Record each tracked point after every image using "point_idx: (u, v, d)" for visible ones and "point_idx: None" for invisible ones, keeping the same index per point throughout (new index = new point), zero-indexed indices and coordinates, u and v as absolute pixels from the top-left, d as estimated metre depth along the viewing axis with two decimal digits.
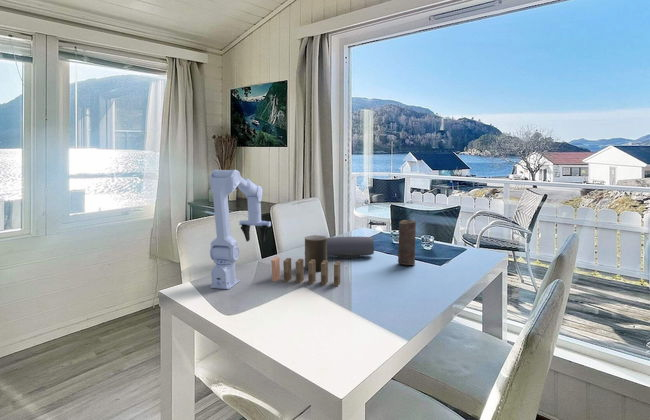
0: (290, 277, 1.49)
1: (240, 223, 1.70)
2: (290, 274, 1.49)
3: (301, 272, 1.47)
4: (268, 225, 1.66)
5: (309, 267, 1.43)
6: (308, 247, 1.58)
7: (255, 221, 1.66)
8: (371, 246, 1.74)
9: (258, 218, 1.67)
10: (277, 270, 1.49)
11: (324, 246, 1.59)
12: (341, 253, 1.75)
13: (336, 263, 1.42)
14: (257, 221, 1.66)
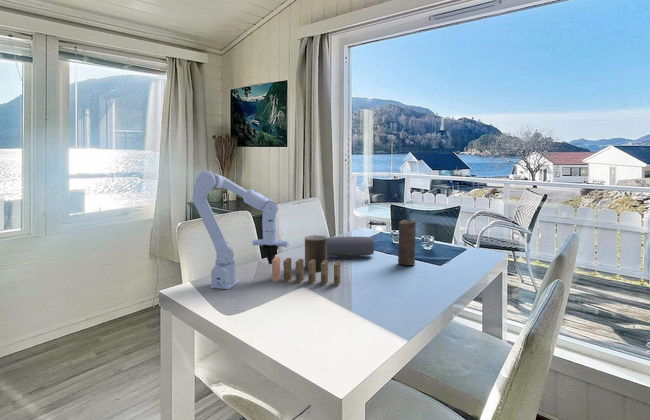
0: (290, 277, 1.49)
1: (253, 243, 1.49)
2: (290, 274, 1.49)
3: (301, 272, 1.47)
4: (286, 245, 1.46)
5: (309, 267, 1.43)
6: (308, 247, 1.58)
7: (271, 241, 1.45)
8: (371, 246, 1.74)
9: (274, 238, 1.46)
10: (277, 270, 1.49)
11: (324, 246, 1.59)
12: (341, 253, 1.75)
13: (336, 263, 1.42)
14: (273, 241, 1.46)
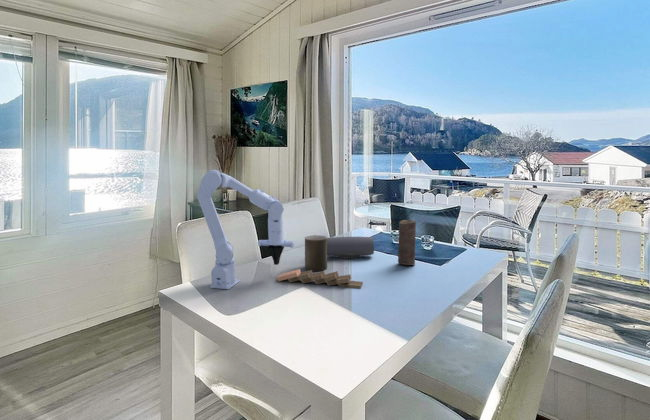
0: None
1: (259, 243, 1.48)
2: None
3: None
4: (291, 246, 1.45)
5: (330, 277, 1.42)
6: (308, 247, 1.58)
7: (277, 241, 1.45)
8: (371, 246, 1.74)
9: (280, 238, 1.45)
10: None
11: (324, 246, 1.59)
12: (341, 253, 1.75)
13: (361, 286, 1.41)
14: (279, 241, 1.45)
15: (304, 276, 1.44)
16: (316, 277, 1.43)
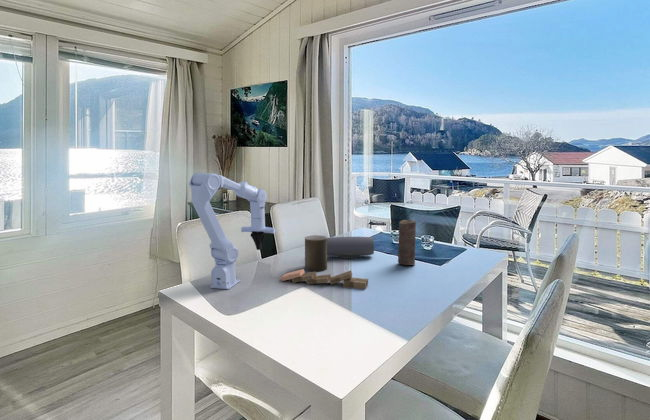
0: None
1: (242, 230, 1.57)
2: None
3: None
4: (272, 232, 1.54)
5: (346, 276, 1.42)
6: (308, 247, 1.58)
7: (258, 228, 1.53)
8: (371, 246, 1.74)
9: (262, 224, 1.54)
10: None
11: (324, 246, 1.59)
12: (341, 253, 1.75)
13: None
14: (261, 228, 1.54)
15: (308, 277, 1.44)
16: (322, 280, 1.42)
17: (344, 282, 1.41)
